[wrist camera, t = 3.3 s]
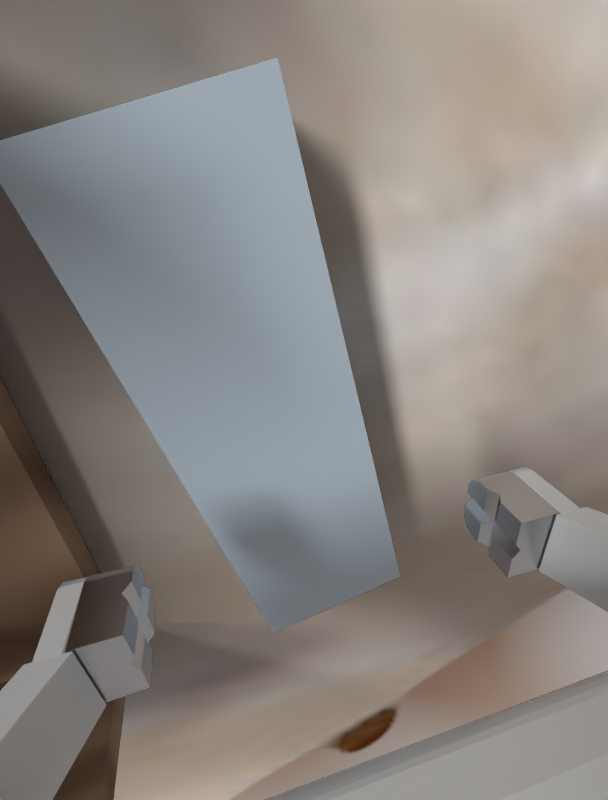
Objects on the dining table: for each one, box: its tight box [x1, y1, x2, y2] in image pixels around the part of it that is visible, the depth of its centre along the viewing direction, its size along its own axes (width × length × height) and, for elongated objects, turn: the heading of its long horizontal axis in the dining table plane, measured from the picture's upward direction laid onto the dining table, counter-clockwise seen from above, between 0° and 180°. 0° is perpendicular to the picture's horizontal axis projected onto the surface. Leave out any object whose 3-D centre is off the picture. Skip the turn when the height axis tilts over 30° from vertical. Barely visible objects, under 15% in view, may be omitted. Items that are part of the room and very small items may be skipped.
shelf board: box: [0, 57, 400, 633], centre depth 14 cm, size 18×6×4 cm, turn 16°
